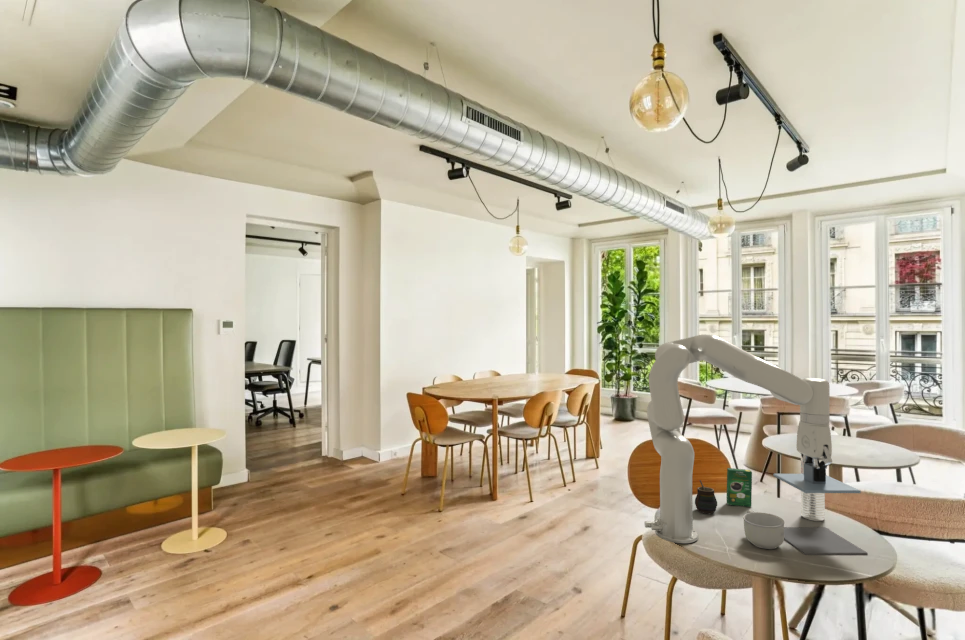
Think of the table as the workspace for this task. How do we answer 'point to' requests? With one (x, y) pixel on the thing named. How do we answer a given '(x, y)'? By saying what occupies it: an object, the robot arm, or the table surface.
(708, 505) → the mate gourd
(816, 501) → the water bottle
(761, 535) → the teacup
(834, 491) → the lid
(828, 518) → the table surface
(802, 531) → the mat
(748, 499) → the coffee box
